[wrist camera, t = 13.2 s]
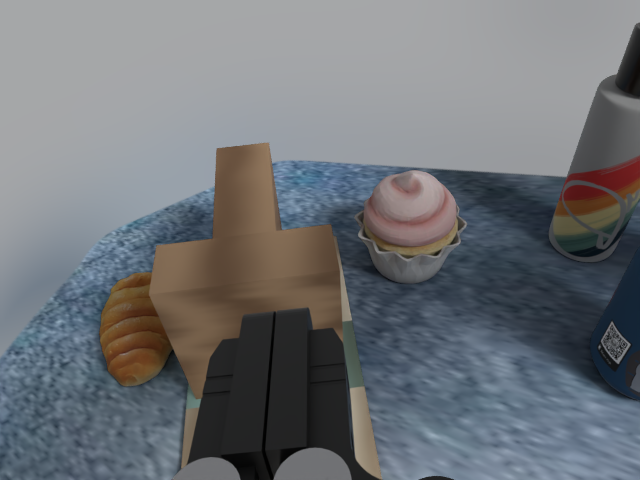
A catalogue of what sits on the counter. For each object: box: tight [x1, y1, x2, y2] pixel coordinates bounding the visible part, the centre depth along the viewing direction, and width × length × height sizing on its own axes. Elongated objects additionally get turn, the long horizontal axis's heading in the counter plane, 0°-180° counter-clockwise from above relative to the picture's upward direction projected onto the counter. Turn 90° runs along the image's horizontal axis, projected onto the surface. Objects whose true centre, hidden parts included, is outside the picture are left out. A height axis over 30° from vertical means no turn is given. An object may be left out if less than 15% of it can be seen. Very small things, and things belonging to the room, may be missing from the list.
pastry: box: [99, 272, 173, 387], centre depth 42 cm, size 9×7×4 cm
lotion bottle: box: [549, 23, 640, 262], centre depth 41 cm, size 6×6×20 cm
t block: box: [149, 143, 343, 399], centre depth 39 cm, size 11×14×12 cm
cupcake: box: [354, 170, 467, 284], centre depth 44 cm, size 9×9×10 cm
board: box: [181, 236, 382, 480], centre depth 39 cm, size 13×30×1 cm, turn 6°
